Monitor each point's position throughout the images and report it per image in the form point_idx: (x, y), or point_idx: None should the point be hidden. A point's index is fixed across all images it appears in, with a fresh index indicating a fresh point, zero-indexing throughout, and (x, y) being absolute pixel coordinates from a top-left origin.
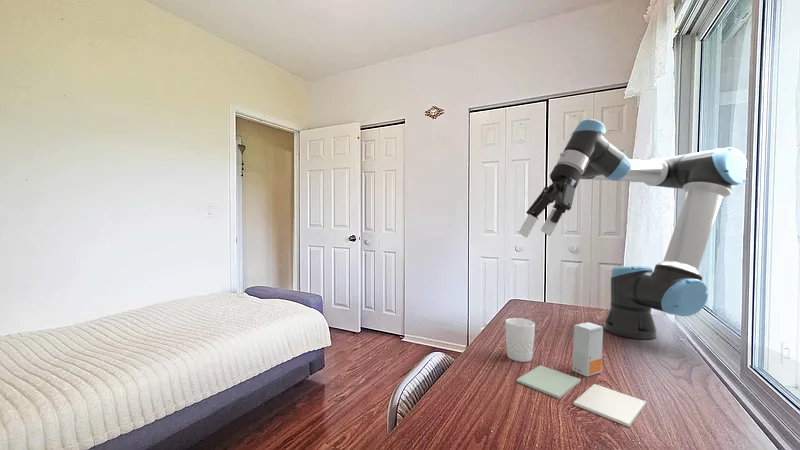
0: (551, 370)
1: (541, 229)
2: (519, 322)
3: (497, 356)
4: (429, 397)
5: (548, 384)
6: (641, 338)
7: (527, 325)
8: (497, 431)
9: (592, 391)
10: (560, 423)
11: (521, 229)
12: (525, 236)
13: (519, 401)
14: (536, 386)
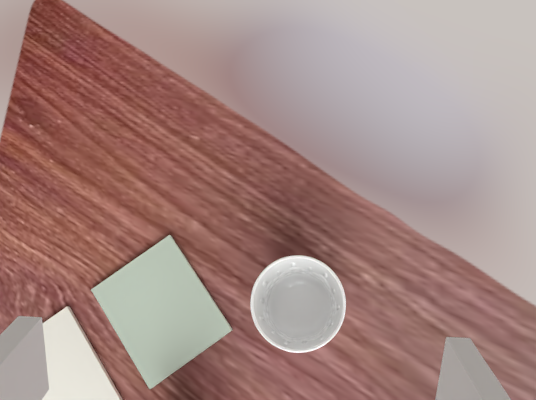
0: (201, 342)
1: (27, 321)
2: (337, 321)
3: (308, 247)
4: (138, 51)
5: (137, 294)
6: None
7: (318, 341)
8: (27, 134)
9: (94, 376)
10: (24, 245)
11: (458, 361)
12: (438, 394)
13: (99, 206)
14: (133, 262)
